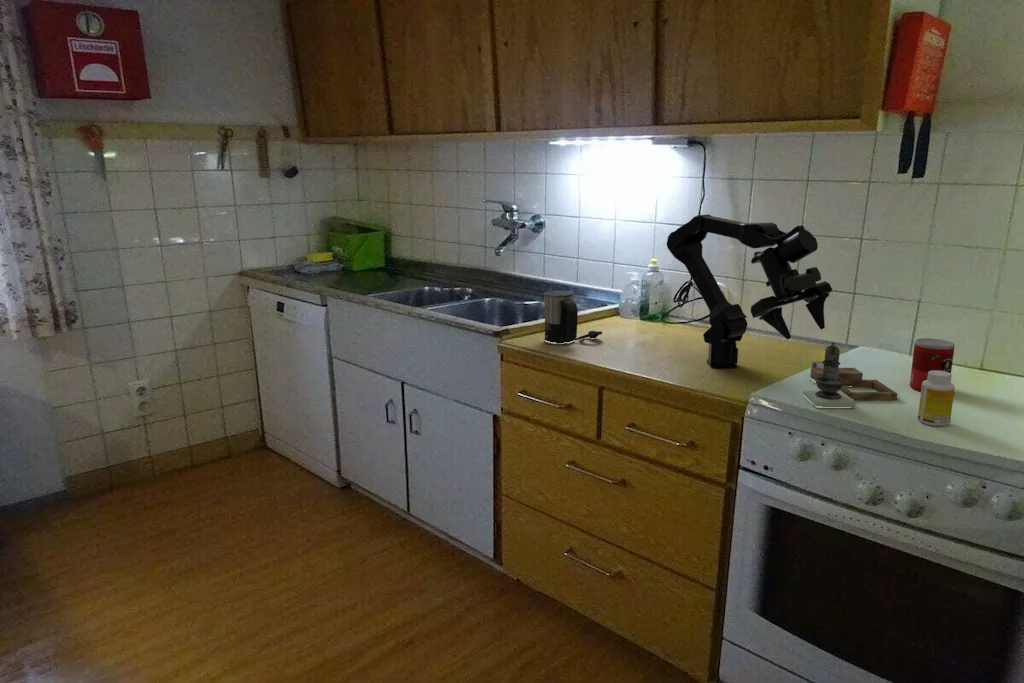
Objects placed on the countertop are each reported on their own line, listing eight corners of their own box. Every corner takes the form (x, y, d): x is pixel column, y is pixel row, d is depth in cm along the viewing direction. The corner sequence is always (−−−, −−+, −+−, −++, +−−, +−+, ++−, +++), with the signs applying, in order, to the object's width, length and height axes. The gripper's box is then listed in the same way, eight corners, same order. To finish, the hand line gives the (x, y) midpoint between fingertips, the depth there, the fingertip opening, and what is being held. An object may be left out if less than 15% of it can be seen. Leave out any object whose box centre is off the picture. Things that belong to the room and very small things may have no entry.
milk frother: (537, 341, 211) (536, 292, 207) (574, 333, 221) (574, 286, 217) (571, 350, 200) (571, 298, 197) (608, 341, 210) (609, 291, 207)
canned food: (929, 396, 157) (936, 347, 154) (901, 385, 164) (906, 339, 161) (957, 392, 159) (963, 344, 156) (927, 382, 166) (933, 336, 163)
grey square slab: (815, 408, 150) (816, 401, 149) (802, 396, 157) (803, 390, 157) (854, 408, 149) (855, 401, 149) (839, 396, 157) (840, 390, 156)
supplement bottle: (956, 426, 138) (963, 376, 136) (928, 428, 138) (935, 377, 135) (937, 417, 143) (944, 368, 141) (911, 418, 143) (917, 369, 141)
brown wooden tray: (834, 399, 155) (835, 386, 154) (810, 379, 170) (811, 367, 169) (896, 400, 154) (898, 387, 153) (866, 379, 169) (868, 367, 168)
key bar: (821, 380, 168) (822, 369, 168) (810, 372, 175) (811, 361, 174) (836, 380, 168) (837, 369, 167) (825, 372, 175) (826, 361, 174)
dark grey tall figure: (843, 393, 154) (849, 340, 151) (842, 401, 149) (848, 346, 146) (814, 390, 157) (819, 337, 154) (812, 397, 152) (817, 343, 149)
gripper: (762, 267, 155) (790, 332, 151) (832, 248, 160) (862, 311, 156) (738, 286, 165) (764, 348, 162) (804, 268, 170) (832, 327, 166)
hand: (806, 333), depth 161 cm, fingers open, 9 cm apart
